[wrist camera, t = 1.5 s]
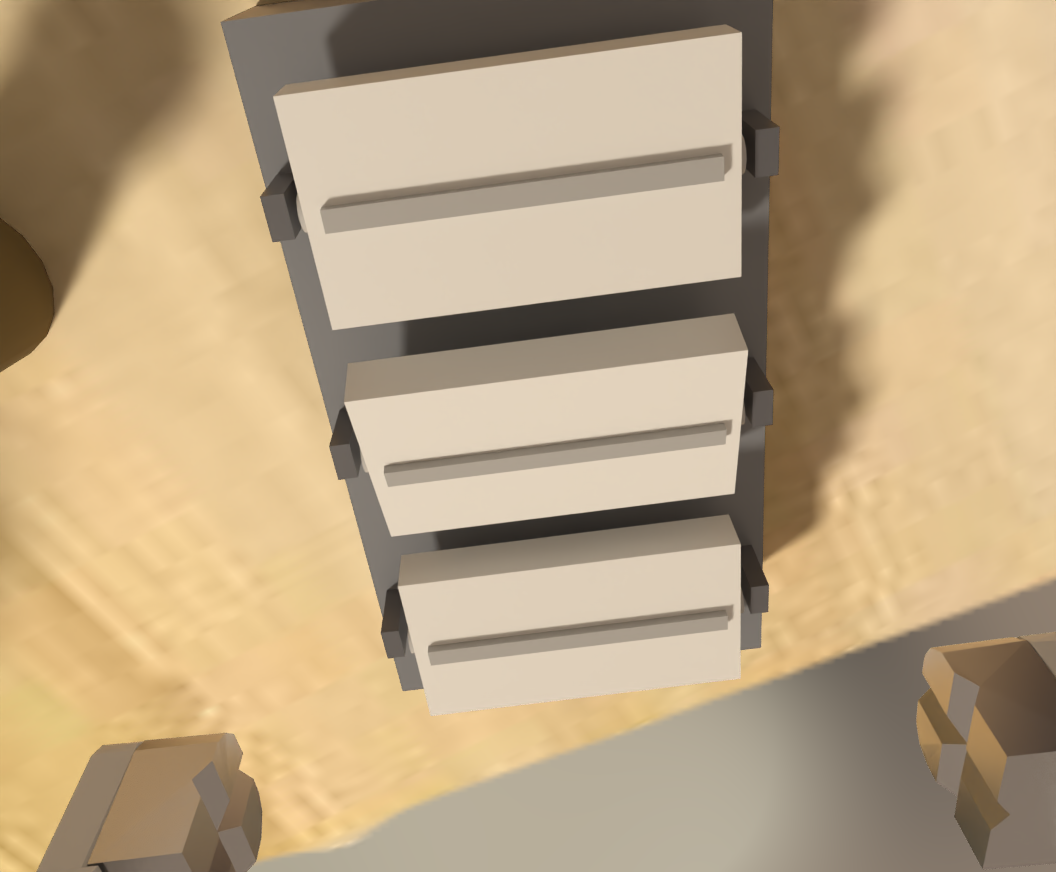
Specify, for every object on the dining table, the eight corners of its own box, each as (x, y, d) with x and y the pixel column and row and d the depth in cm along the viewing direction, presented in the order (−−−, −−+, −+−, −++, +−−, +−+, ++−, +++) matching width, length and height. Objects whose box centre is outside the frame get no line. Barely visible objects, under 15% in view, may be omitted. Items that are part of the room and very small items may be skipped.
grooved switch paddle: (395, 555, 30) (390, 593, 28) (734, 513, 30) (749, 549, 28) (427, 682, 33) (424, 723, 31) (735, 645, 33) (748, 684, 31)
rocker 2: (341, 364, 25) (335, 411, 24) (741, 312, 25) (758, 356, 24) (386, 499, 30) (384, 544, 28) (729, 456, 29) (743, 500, 28)
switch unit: (254, 6, 26) (196, 32, 21) (745, -63, 26) (814, -54, 20) (409, 620, 38) (398, 736, 33) (742, 579, 38) (785, 689, 33)
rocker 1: (277, 85, 22) (261, 100, 21) (733, 23, 22) (754, 32, 20) (333, 308, 25) (323, 335, 24) (734, 255, 25) (751, 279, 24)
